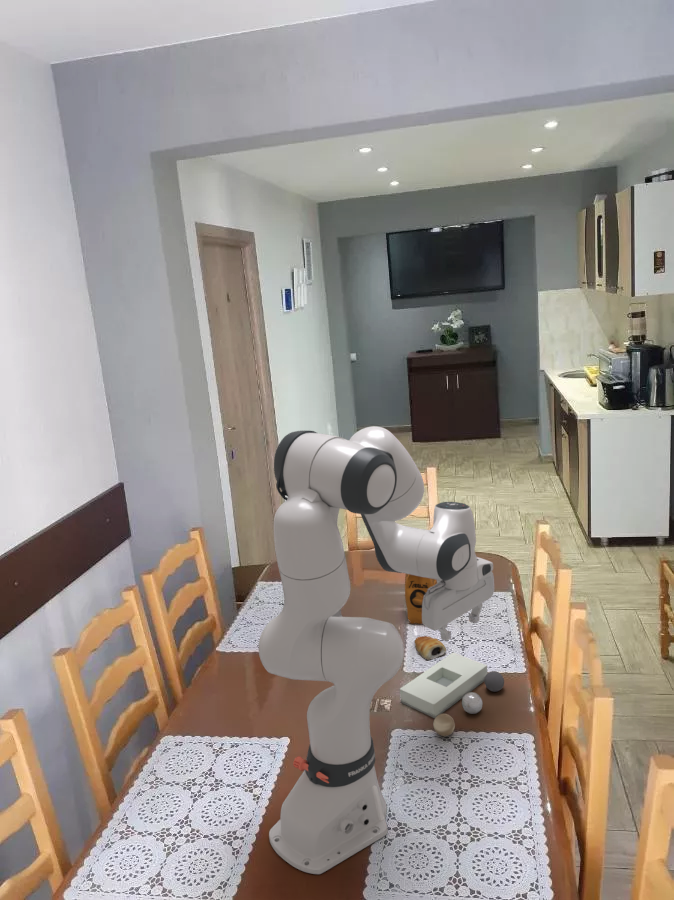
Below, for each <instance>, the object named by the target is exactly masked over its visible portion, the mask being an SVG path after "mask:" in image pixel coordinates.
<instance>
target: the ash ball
mask: <svg viewBox="0 0 674 900" xmlns="http://www.w3.org/2000/svg"><path fill="white" fill-rule="evenodd" d="M433 719H434V720H433V724H432V725H433V730H434V731H435V733H436V734H437V735H439V736H441V737H448V736H451V735H452V734H453V732H454V731H455V727H456V724H455V723H456V722H455V720H454V718H453V717H452V716H451V715H450V714H447V713H442V714H439V715H438V716H437V717H436V718H433Z"/></svg>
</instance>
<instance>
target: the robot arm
mask: <svg viewBox="0 0 674 900" xmlns="http://www.w3.org/2000/svg"><path fill="white" fill-rule="evenodd" d="M273 471H274V472H273V473H274V478H275V480H276V483H275V485H276V491H277V492H278V494H279V495H280V497H281V498H282V499H283V500H284V501H283V502H282V503H281V504H280V505H279V507H278V508H277V510H276V512H275V514H274V518H273V541H274V542H273V543H274V551H275V557H276V563H277V568H278V572H279V576H280V580H281V585H282V587H281V588H282V593H283V599H284V600H283V607H282V609H281V611H280V613H279V614H278V615H277V616H276V617H275V618H272V619H270V621H269V622H268V623H267V624H266V625H265V626H264V628H263V630H262V631H261V634H260V637H259V639H258V656H259V658H260V662H261V664H262V666H263V668H264V669H265V670H266V671H267V673H269V674H272V675H275V676H278V677H283V678H286V679H290V680H297V681H298V680H299V681H313V682H314V681H316V682H327V683H328V682H330V683H331V684H333V685H331V686H330V687H327V688H325V689H323V690H322V691H321V692H319V693H318V694H317V695H315V697H314V698H312V700H311V701H310V703H309V705H308V708H307V712H306V721H307V728H308V738H309V746H308V749H307V754H306V759H304V758H303V757H302V756H300V755H299V756H296V757H294V761H292V762H293V764H292V765H293V767H294V768H296V769H298V770H299V771H300V772H302V773H301V775H300V776H299V778H298V779H297V781H296V783H295V784H294V786H293V788H292V789H291V790H290V791H289V793H288V795H287V797H285V800H284V801H283V802H282V805H281V807H280V819H279V820H277V822H276V823H275V824H274V825H273V826H272V827H271V828H270V829H269V832H268V838H269V843H270V845H271V848H272V849H273V850H274V851H275V853H276V854H277V855H278V856H279V857H280V858H281V859H283V861H284V862H287V863H288V864H289V865H290V866H291V867H294V868H295V869H296V870H297V869H298V870H299V871H302V872H304V873H307V874H313V875H321V874H323V873H326V871H329V870H330V869H333V868H334V867H335V866H337V865H338V864H340V863H342V862H343V861H345V860H347V859H348V858H350V857H352V856H354V855H355V854H357V853H358V852H360V851H362V850H363V849H365V848H367V847H368V846H371V845H372V844H373V843H375V842H377V841H379V840H380V839H382V838H384V837H385V836H386V835H387V834H388V831H389V830H388V828H389V827H388V825H387V821H386V815H387V811H388V810H387V808H388V807H387V802H386V799H385V797H384V795H383V793H382V790H381V788H380V784H379V781H378V776H377V772H376V767H375V764H376V752H375V743H374V739H373V737H372V735H371V726H370V724H371V722H370V708H371V703H372V700H373V698H374V696H375V694H376V693H377V691H378V690H379V689H380V688H381V687H382V685H385V684H386V683H387V682H389V681H391V680H392V679H393V678H394V677H395V676H396V674H397V673H398V672H399V670H400V668H401V667H402V664H403V660H404V655H405V654H404V653H405V652H404V651H405V649H404V643H403V642H404V641H403V639H402V636H401V634H400V632H399V630H398V629H397V627H395V625H394V624H392V622H388V621H384V620H380V619H375V618H372V617H371V618H370V617H366V616H365V617H364V616H363V617H362V616H361V617H360V616H343V617H332V616H333V615H334V614H336V613H337V612H338V611H339V610H340V609H341V610H342V609H343V607H344V606H345V605H346V604H347V602H348V600H349V598H350V594H351V587H352V585H351V581H350V575H349V570H348V564H347V558H346V554H345V550H344V544H343V540H342V537H341V533H340V529H339V527H338V520H339V519H338V518H339V513H340V510H347V511H348V512H350V513H351V514H352V513H353V514H358V515H360V516H361V518H362V521H363V523H364V526H365V527H366V530H367V532H368V534H369V536H370V539H371V540H372V544H373V547H374V553H375V557H376V560H377V563H378V564H379V565H380V566H381V568H382V569H383V570H384V571H386V572H387V573H388V572H390V573H398V574H405V575H406V574H410V575H415V576H420V577H426V578H431V579H436V580H437V584H436V585H434V586H432V587H430V588H428V589H427V592H426V594H425V595H424V597H423V603H422V623H423V624H422V625H423V626H424V627H425V628H428V629H430V630H432V631H439V633H440V639H441V640H442V641H444V642H448V641H449V640H451V639H452V632H451V631H450V630H448V629H446V628H448V624H451V622H453V621H455V620H457V619H458V618H460V617H461V616H463V615H464V614H467V613H468V612H469V611H470V612H471V613H469V614H468V618H469V619H468V620H469V622H470V623H471V624H476V623H478V622H480V614H481V611H482V609H483V603H485V602H487V601H488V600H490V599H491V598H492V597H493V595H494V593H495V577H494V573H493V570H494V563H493V562H492V561H490V560H488V559H485V558H481V557H478V556H477V555H476V550H475V548H476V544H477V538H476V536H477V535H476V526H475V525H476V524H475V521H474V520H475V519H474V515H473V511H472V509H471V506H470V505H468V504H466V503H463V502H457V501H443V502H439V503H436V504H435V506H434V510H433V522H432V523H433V524H432V525H433V526H432V527H431V528H430V529H425V528H418V527H412V526H407V525H403V524H400V523H398V522H397V521H400V520H402V519H403V520H404V519H406V518H407V517H408V516H410V515H411V514H412V513H413V512H415V510H416V509H417V508H418V507H419V506H420V504H421V502H422V499H423V497H424V493H425V483H424V479H423V476H422V473H421V471H420V469H419V468H418V465H416V463H415V461H414V459H413V457H412V456H411V453H409V451H408V449H406V447H405V446H404V445H403V443H401V441H400V440H399V439H398V438H397V437H396V436H395V435H394V434H393V433H392V432H391V431H390V430H388V429H386V428H384V427H382V426H376V425H375V426H374V425H373V426H367V427H364V428H361V429H359V430H358V431H356V432H355V433H354V434H353V435H352V436H350V438H349V440H348V439H346V438H344V437H342V436H338V435H334V434H327V433H318V432H316V431H314V430H296V431H292V432H289V433H288V434H285V436H284V437H282V439H281V441H280V442H279V444H278V445H277V447H276V450H275V453H274V459H273Z"/></svg>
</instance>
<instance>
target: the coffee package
mask: <svg viewBox="0 0 674 900" xmlns="http://www.w3.org/2000/svg"><path fill="white" fill-rule="evenodd" d="M404 576H405V577H404V600H405V605H406V611H407V620H408V622H409V623H410V624H413V625H414V624H418V625H423V623H422V603H423V597H424V595H425V594H426V592H427V589H428V588H430V587H432V586H434V585H436V584H437V580H436V579H431V578H426V577H420V576H415V575H410V574H405V575H404Z"/></svg>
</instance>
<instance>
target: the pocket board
mask: <svg viewBox="0 0 674 900" xmlns="http://www.w3.org/2000/svg"><path fill="white" fill-rule="evenodd" d="M487 673H488V664H485V663H482V662H479V661H477V660H474V659H471V658H469V657H466V656H464V655H461V654H458V653H455V652H452V653H450V654H449V655H447V656H445V657H444V658H443V659H441V660H440V661H438V662H437V663H436V664H434V665H432V666H431V667H430V668H428V669H427V670H425V671H424V672H422V673H421V674H419V675H418V676H417V677H415V678H413V679H412V680H410V681H409V682H408V683H406V684H404V685H403V686H402V687H400V688H399V695H400V696H399V697H400V698H399V699H400V703H401V704H403V705H406V706H408V707H410V708H412V709H413V710H416V711H418V712H419V713H422V714H425V715H427V716H429V717H431V718H433V719H435V718H436V717H437V716H438V715H439V714H444V713H445V712H446V711H447V710H448V709H450V708H451V707H453V706H454V705H455V704H456V703H458V702H459V701H460V700H462V699H463V697H464V695H465V694H467V693H469V692H472V691H474V690H475V689H476V688H477V687H479V686H480V685H481V684H482V683H485V682H484V679H485V676H486V674H487Z"/></svg>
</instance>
